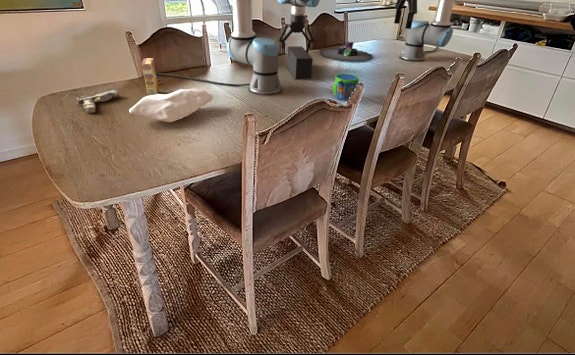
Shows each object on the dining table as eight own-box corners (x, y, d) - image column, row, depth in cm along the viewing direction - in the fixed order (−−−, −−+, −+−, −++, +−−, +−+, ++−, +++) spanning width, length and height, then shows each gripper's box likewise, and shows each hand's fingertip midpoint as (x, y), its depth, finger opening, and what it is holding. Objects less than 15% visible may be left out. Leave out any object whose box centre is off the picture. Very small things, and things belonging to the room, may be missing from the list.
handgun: (128, 97, 156) (111, 87, 164) (86, 107, 144) (70, 97, 152) (129, 103, 157) (113, 94, 165) (88, 114, 146) (72, 103, 154)
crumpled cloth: (117, 110, 146) (113, 90, 140) (195, 92, 166) (194, 73, 160) (143, 139, 134) (140, 118, 128) (223, 116, 154) (224, 96, 148)
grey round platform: (383, 57, 237) (385, 42, 233) (344, 64, 220) (345, 48, 215) (347, 49, 262) (348, 36, 257) (309, 54, 245) (309, 40, 240)
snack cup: (349, 91, 180) (352, 71, 174) (364, 98, 172) (367, 77, 167) (324, 97, 172) (326, 75, 167) (338, 104, 165) (341, 82, 159)
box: (286, 65, 216) (287, 46, 210) (301, 65, 217) (302, 46, 211) (295, 79, 194) (296, 58, 188) (311, 79, 195) (312, 58, 190)
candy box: (157, 97, 164) (152, 63, 155) (147, 98, 163) (141, 63, 155) (158, 91, 171) (153, 57, 163) (149, 91, 170) (143, 58, 162)
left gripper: (276, 14, 192) (275, 55, 203) (321, 16, 197) (318, 56, 208) (274, 12, 198) (273, 52, 210) (318, 14, 203) (314, 53, 214)
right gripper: (431, -19, 165) (420, 30, 176) (407, -24, 185) (398, 21, 197) (416, -20, 163) (406, 30, 175) (393, -24, 184) (385, 21, 195)
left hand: (295, 54), depth 209 cm, fingers open, 13 cm apart
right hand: (402, 26), depth 186 cm, fingers open, 13 cm apart
